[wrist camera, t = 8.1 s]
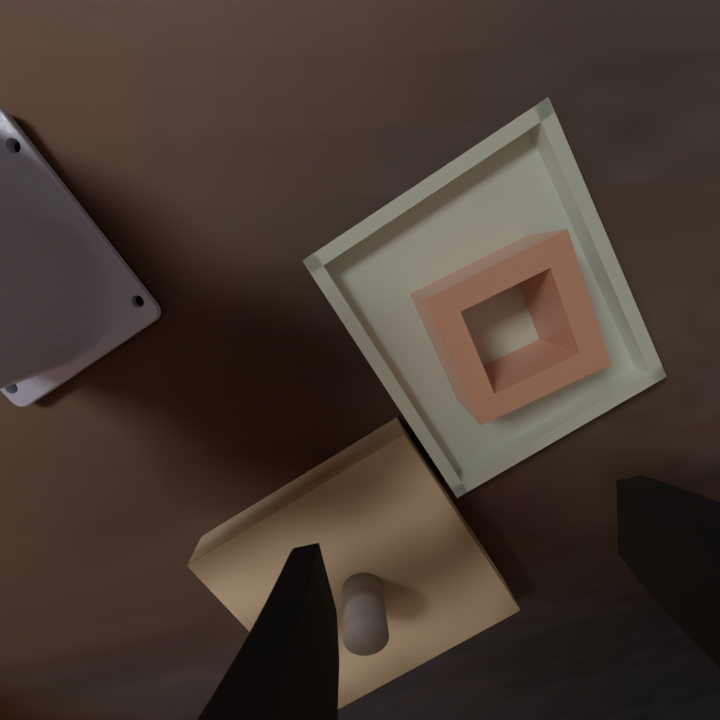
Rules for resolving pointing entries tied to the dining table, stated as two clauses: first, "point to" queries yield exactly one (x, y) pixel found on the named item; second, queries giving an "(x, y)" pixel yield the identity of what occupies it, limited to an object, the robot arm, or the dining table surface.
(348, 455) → the board
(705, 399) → the dining table surface
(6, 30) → the dining table surface
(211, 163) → the dining table surface
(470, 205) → the tray
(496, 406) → the ring
